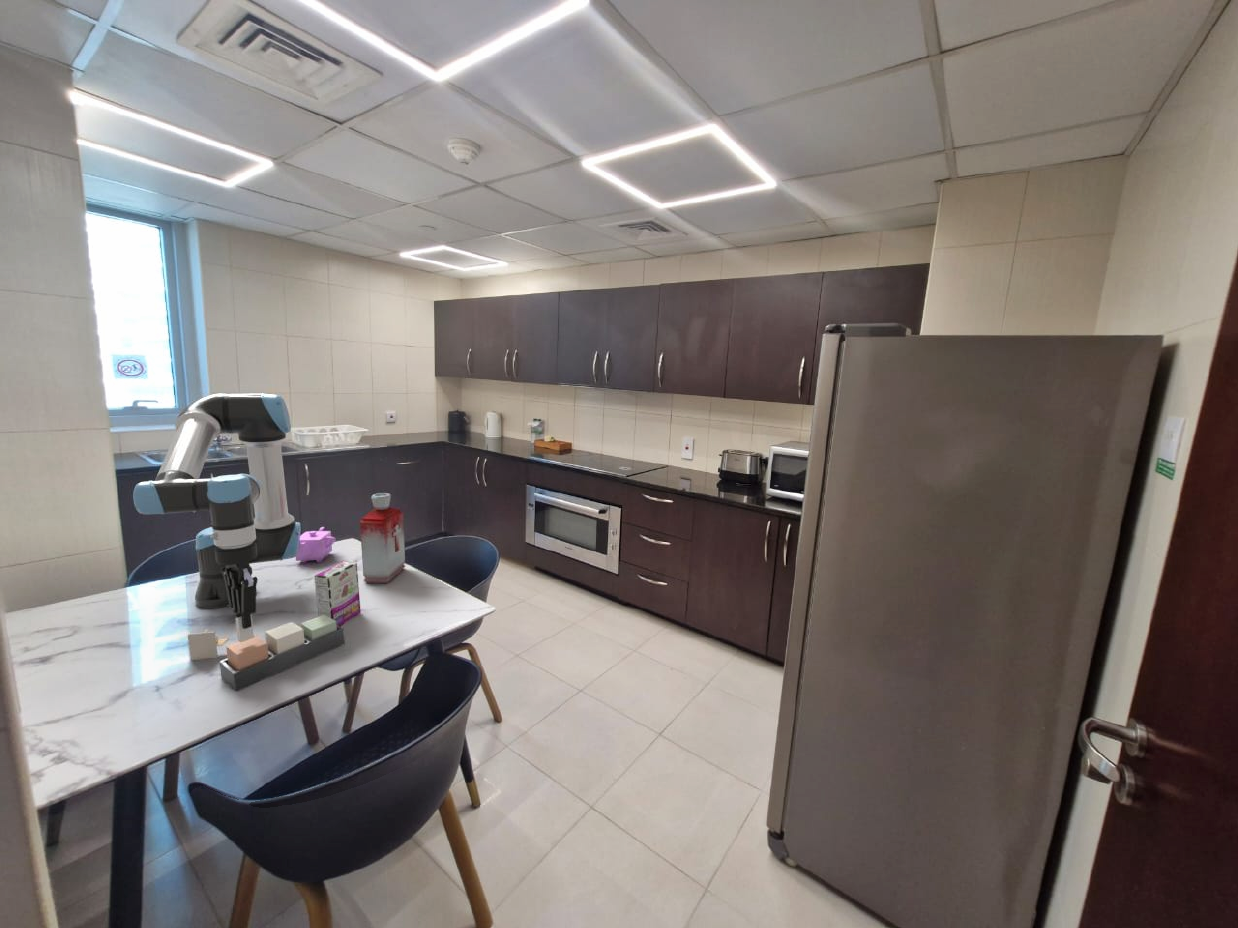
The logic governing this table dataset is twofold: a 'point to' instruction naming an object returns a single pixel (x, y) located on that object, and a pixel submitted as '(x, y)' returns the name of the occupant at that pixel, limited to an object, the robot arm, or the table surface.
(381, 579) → the bottle
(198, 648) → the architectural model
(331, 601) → the candy bar box
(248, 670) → the grey compartment tray
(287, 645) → the ivory key
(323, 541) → the teapot
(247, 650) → the terracotta key
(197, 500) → the robot arm
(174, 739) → the table surface
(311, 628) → the sage key
